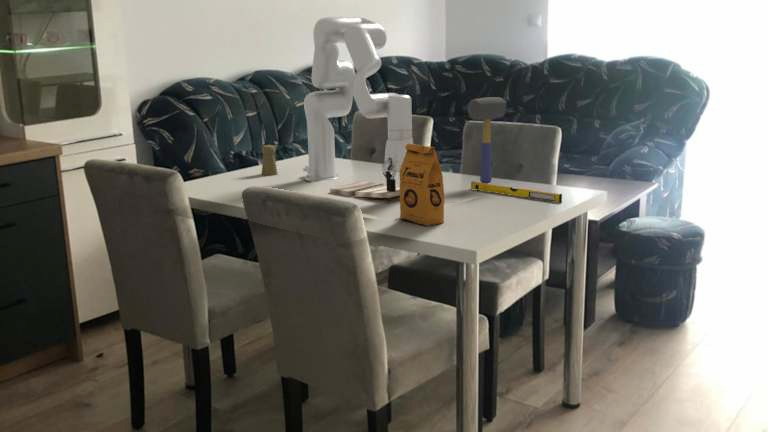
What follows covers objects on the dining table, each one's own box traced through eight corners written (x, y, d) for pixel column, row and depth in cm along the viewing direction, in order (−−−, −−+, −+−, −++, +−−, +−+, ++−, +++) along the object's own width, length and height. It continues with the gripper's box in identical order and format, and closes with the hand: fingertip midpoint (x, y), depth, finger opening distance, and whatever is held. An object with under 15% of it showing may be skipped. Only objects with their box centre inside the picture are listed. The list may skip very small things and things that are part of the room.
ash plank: (355, 196, 263) (354, 191, 263) (385, 188, 274) (385, 184, 274) (388, 197, 254) (388, 193, 254) (418, 190, 265) (418, 185, 265)
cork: (280, 173, 310) (279, 144, 307) (270, 176, 305) (269, 146, 303) (268, 172, 313) (267, 143, 311) (258, 174, 308) (256, 145, 306)
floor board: (328, 195, 270) (327, 188, 269) (362, 187, 282) (362, 180, 282) (388, 206, 253) (388, 198, 253) (422, 197, 266) (422, 189, 265)
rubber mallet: (478, 188, 279) (479, 99, 272) (464, 184, 286) (465, 97, 279) (506, 183, 286) (508, 97, 279) (492, 180, 292) (494, 95, 285)
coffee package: (423, 228, 227) (423, 149, 221) (395, 220, 236) (394, 144, 231) (450, 222, 233) (450, 145, 227) (421, 215, 242) (421, 140, 237)
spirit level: (471, 190, 277) (471, 181, 276) (473, 189, 278) (473, 181, 277) (559, 203, 256) (559, 194, 255) (561, 203, 257) (562, 193, 256)
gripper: (408, 131, 265) (409, 183, 268) (372, 137, 252) (374, 192, 256) (426, 132, 260) (427, 185, 264) (391, 138, 247) (392, 194, 251)
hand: (401, 188), depth 260 cm, fingers open, 9 cm apart
